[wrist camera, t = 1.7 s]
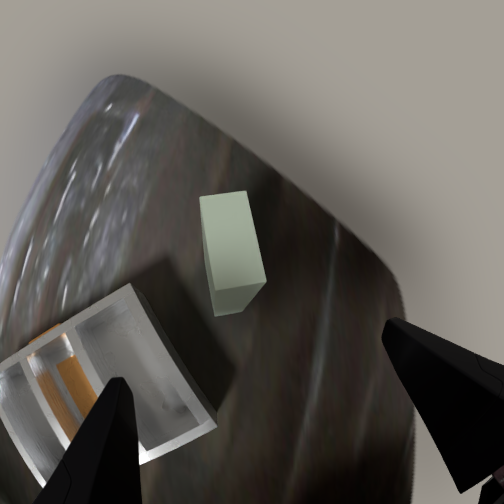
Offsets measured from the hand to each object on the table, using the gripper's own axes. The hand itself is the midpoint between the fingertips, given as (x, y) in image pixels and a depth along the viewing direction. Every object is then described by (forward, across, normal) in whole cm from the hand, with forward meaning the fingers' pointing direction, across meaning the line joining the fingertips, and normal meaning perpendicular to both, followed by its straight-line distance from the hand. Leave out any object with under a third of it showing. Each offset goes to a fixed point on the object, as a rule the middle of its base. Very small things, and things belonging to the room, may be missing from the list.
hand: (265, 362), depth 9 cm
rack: (+7, +11, +10) cm, 16 cm away
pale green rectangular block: (+12, 0, +5) cm, 13 cm away
